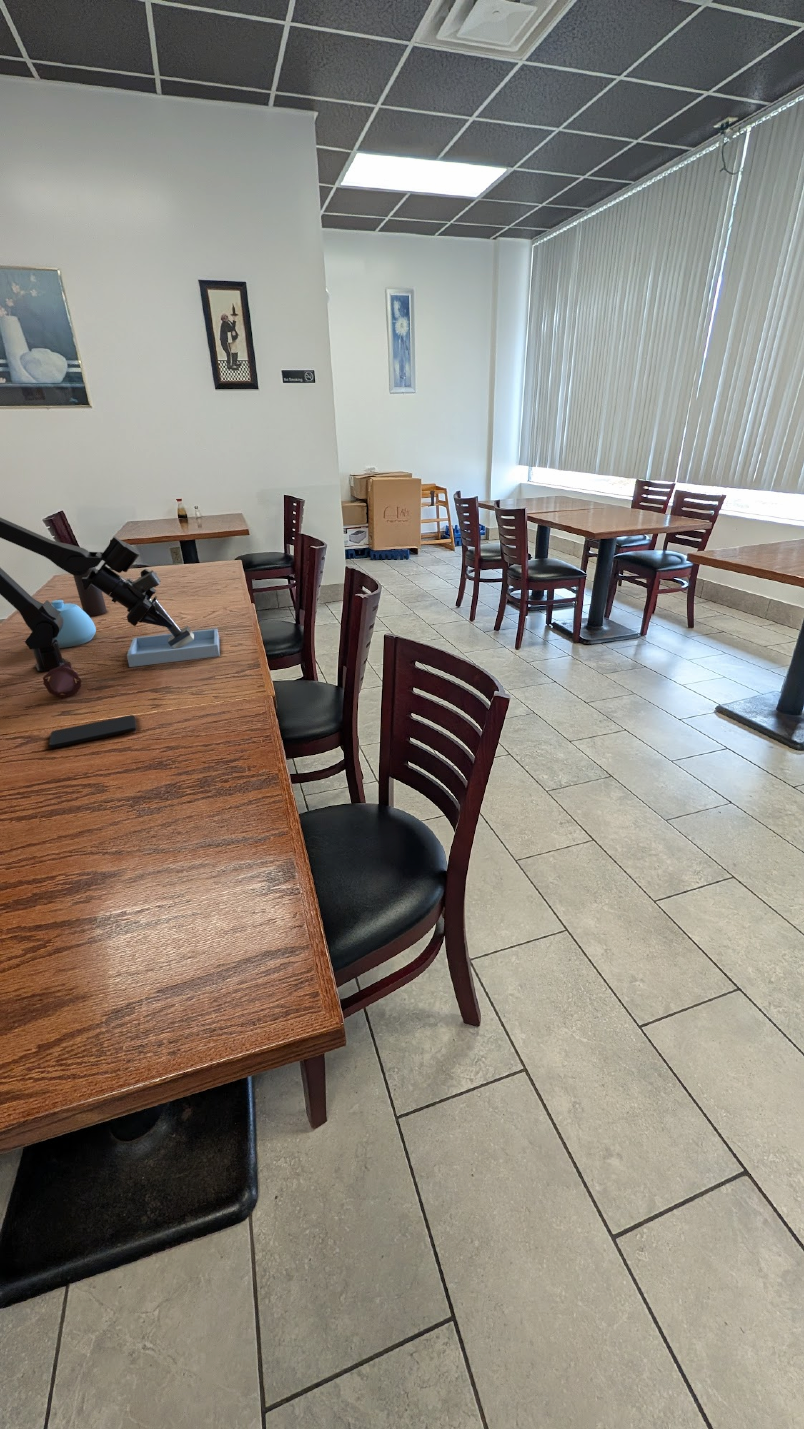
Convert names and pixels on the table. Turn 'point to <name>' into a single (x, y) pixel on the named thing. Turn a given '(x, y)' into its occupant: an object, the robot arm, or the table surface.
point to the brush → (175, 630)
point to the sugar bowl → (73, 625)
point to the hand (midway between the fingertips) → (171, 624)
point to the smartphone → (92, 731)
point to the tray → (161, 652)
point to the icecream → (62, 681)
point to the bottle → (90, 597)
